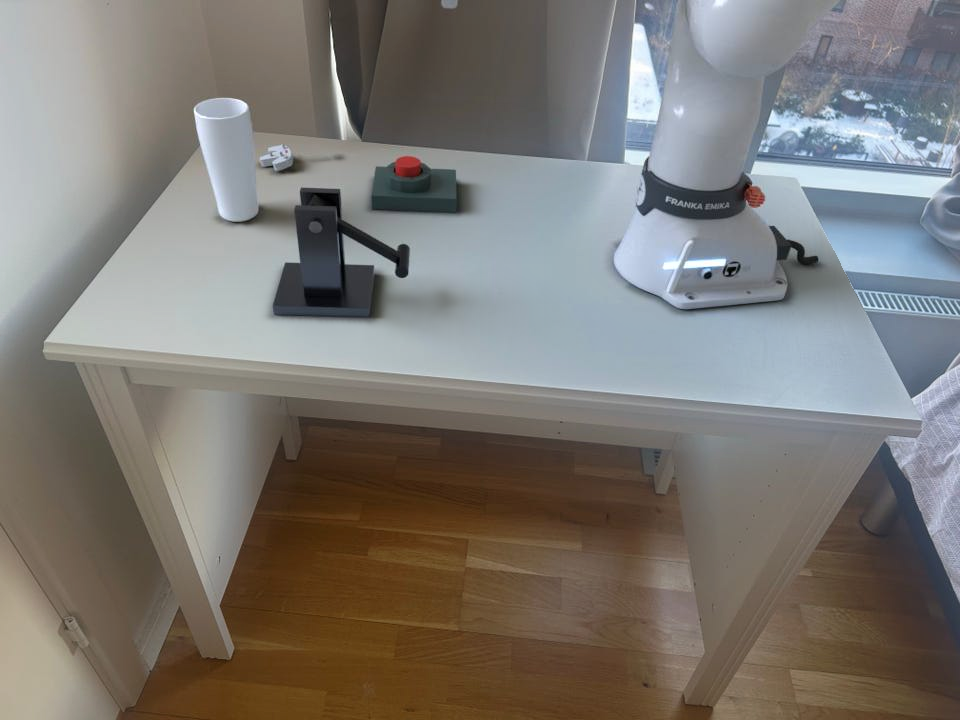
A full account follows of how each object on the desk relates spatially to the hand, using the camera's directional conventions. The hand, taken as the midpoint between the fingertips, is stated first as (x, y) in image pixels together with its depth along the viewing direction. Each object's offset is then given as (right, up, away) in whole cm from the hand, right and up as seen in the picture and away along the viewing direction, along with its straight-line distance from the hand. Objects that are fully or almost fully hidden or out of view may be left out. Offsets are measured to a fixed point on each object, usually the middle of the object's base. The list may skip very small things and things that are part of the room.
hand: (449, 4), depth 84 cm
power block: (-6, -16, +26) cm, 31 cm away
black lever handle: (-11, -27, +2) cm, 29 cm away
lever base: (-15, -32, +6) cm, 36 cm away
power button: (-7, -13, +23) cm, 27 cm away
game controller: (-24, -10, +31) cm, 41 cm away
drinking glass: (-30, -20, +19) cm, 41 cm away
